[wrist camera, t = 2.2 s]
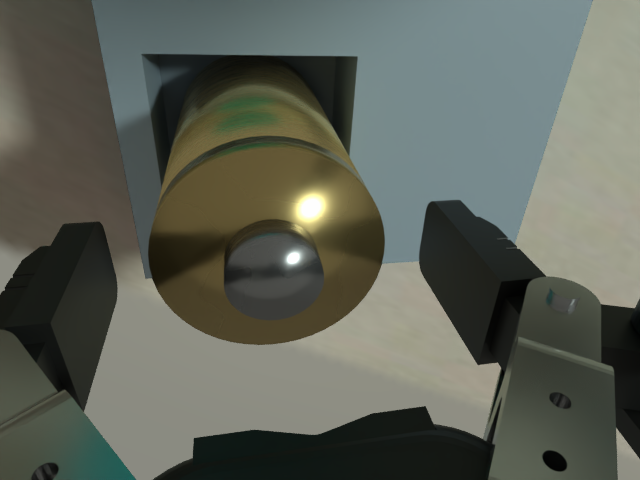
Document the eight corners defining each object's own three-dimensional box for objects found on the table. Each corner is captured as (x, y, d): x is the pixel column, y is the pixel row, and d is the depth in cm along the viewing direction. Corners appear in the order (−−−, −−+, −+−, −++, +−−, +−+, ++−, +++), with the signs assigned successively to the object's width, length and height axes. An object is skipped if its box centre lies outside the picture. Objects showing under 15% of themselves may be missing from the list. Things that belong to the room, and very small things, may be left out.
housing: (116, -60, 15) (80, -59, 11) (521, -40, 17) (603, -33, 13) (160, 215, 20) (145, 278, 16) (463, 202, 23) (510, 255, 19)
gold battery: (172, 50, 15) (119, 170, 8) (322, 52, 16) (412, 162, 8) (189, 187, 18) (161, 380, 10) (316, 183, 19) (381, 359, 11)
